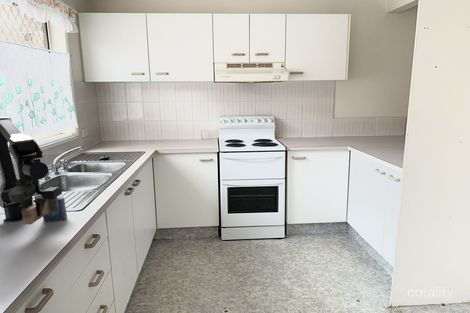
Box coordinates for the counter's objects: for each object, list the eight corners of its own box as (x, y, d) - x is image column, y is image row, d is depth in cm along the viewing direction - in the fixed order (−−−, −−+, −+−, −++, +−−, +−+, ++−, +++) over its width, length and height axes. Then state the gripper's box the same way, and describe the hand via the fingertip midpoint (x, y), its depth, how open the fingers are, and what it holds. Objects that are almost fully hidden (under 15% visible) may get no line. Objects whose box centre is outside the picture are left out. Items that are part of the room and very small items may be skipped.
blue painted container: (68, 217, 129) (64, 192, 126) (64, 220, 126) (60, 195, 123) (45, 218, 129) (41, 193, 126) (41, 221, 126) (36, 196, 123)
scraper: (38, 224, 110) (35, 208, 109) (15, 224, 110) (12, 208, 109) (59, 210, 123) (56, 195, 122) (38, 210, 123) (36, 195, 122)
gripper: (-16, 182, 104) (-7, 226, 107) (41, 180, 104) (48, 225, 107) (8, 172, 115) (15, 213, 118) (59, 171, 114) (65, 212, 118)
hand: (35, 216), depth 115 cm, fingers closed on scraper, 2 cm apart
